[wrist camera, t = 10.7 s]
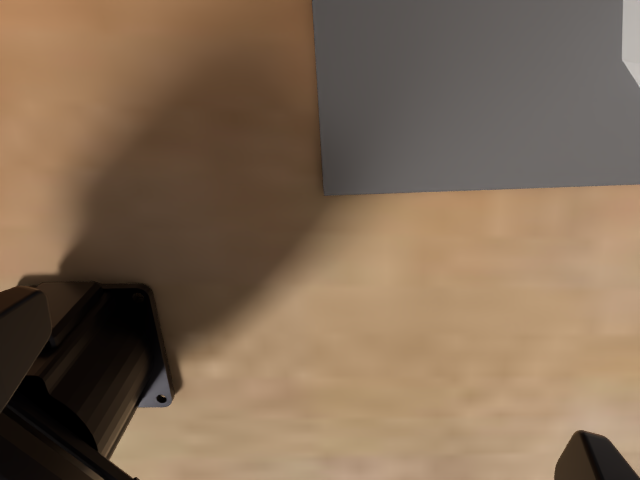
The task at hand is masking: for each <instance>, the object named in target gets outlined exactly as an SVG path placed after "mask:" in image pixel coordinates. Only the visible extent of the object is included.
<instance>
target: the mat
mask: <svg viewBox="0 0 640 480" xmlns="http://www.w3.org/2000/svg"><path fill="white" fill-rule="evenodd" d="M312 8H313V24H314V41H315V57H316V73H317V90H318V106H319V122H320V139H321V155H322V171H323V188H324V196H328V195H356V194H384V193H412V192H440V191H468V190H496V189H524V188H552V187H580V186H608V185H636V184H640V87H639V85H638V84H637V82H636V81H635V79H634V78H633V76H632V75H631V73H630V71H629V70H628V68H627V67H626V65H625V64H624V62H623V61H622V28H623V0H312Z"/></svg>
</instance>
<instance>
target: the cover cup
mask: <svg viewBox="0 0 640 480" xmlns="http://www.w3.org/2000/svg"><path fill="white" fill-rule="evenodd" d="M622 61H623V62H624V64H625V65H626V67H627V68H628V70H629V71H630V73H631V75H632V76H633V78H634V79H635V81H636V82H637V84H638V85H639V87H640V0H623V28H622Z"/></svg>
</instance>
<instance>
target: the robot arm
mask: <svg viewBox="0 0 640 480" xmlns="http://www.w3.org/2000/svg"><path fill="white" fill-rule="evenodd" d="M136 293H140V294H141V295H143V297H144V298H143V299H142V298H139V297H138V296H137V295H136ZM160 395H164V396H165V397H166V398H165V397H162V396H160ZM173 398H174V389H173V384H172V380H171V375H170V370H169V366H168V361H167V357H166V352H165V347H164V343H163V338H162V334H161V329H160V324H159V320H158V315H157V311H156V306H155V301H154V297H153V293H152V290H151V289H150V288H149V287H148V286H147V285H145V284H140V283H135V284H100V283H98V282H95V281H87V282H44V283H41V284H40V285H39V286H17V287H13V288H11V289H8V290H5V291H2V292H0V480H139V479H138V478H137V477H135V478H132V477H131V476H129V475H128V474H127V473H125V472H124V471H123V470H121V469H120V468H119V467H117V466H116V465H115V464H113V463H112V462H111V461H109V459H110V458H111V456H112V454H113V452H114V450H115V448H116V446H117V445H118V443H119V441H120V439H121V437H122V435H123V434H124V432H125V430H126V428H127V426H128V424H129V422H130V421H131V419H132V417H133V415H134V413H135V411H136V409H137V408H138V407H167V406H169V405H170V404H171V402H172V400H173ZM554 480H640V478H639V476H638V475H637V474H636V473H635V471H634V470H633V469H632V468H631V466H630V465H629V464H628V463H627V461H626V460H625V459H624V458H623V456H622V455H621V454H620V453H619V451H618V450H617V449H616V448H615V446H614V445H613V444H612V443H611V441H610V440H609V439H607V438H606V437H605V436H602V435H599V434H595V433H591V432H587V431H583V430H579V431H576V432H575V433H574V434H573V436H572V437H571V439H570V441H569V442H568V444H567V446H566V448H565V449H564V451H563V453H562V454H561V456H560V458H559V460H558V462H557V464H556V468H555V475H554Z"/></svg>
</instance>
